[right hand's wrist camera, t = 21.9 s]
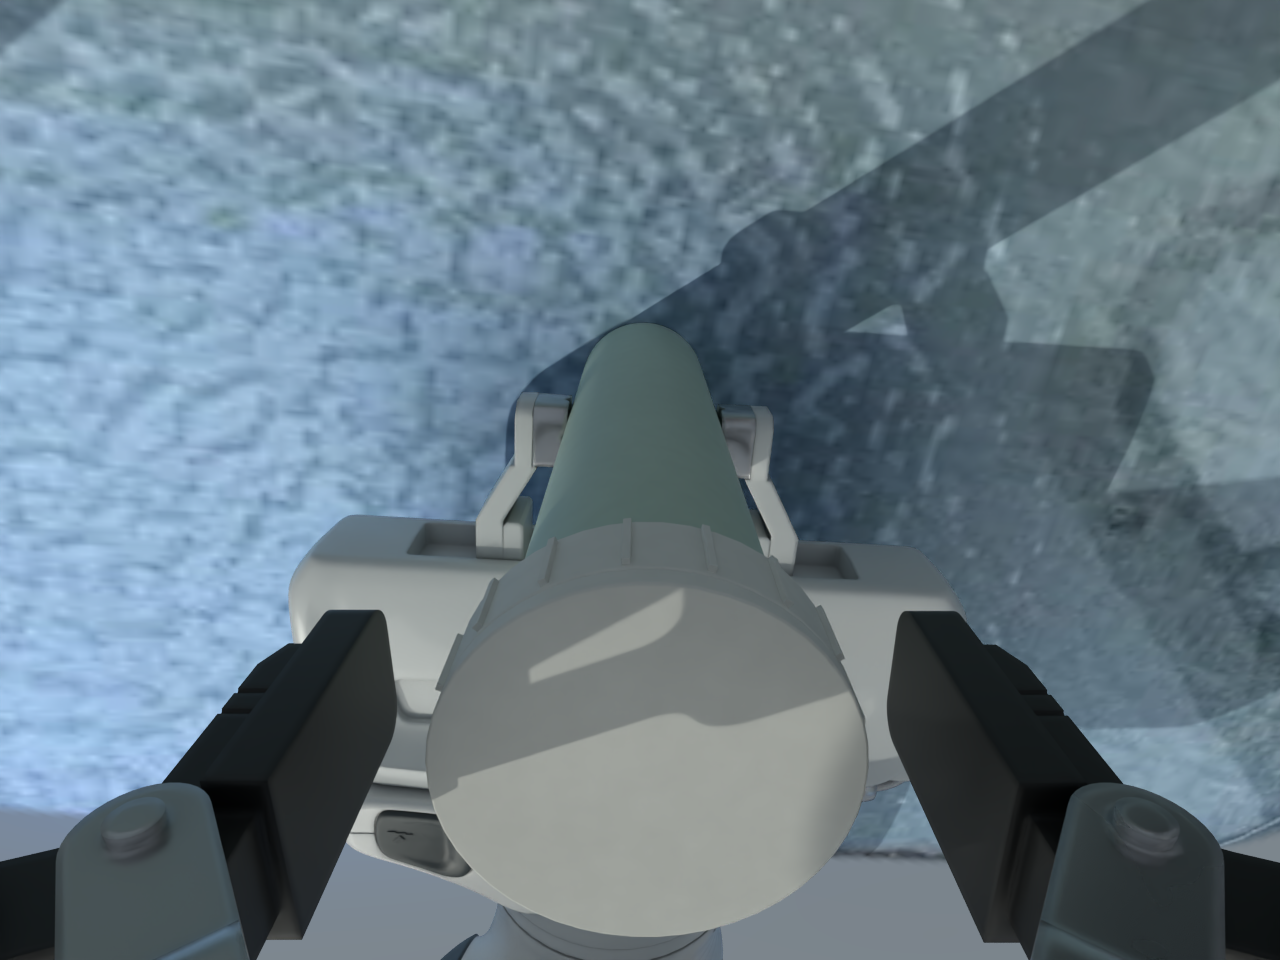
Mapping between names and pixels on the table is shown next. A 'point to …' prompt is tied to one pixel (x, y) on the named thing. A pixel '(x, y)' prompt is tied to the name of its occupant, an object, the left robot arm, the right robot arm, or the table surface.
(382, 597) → the left robot arm
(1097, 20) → the table surface
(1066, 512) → the table surface
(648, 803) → the lid
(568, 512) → the pale green tall cylinder
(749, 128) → the table surface
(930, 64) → the table surface
